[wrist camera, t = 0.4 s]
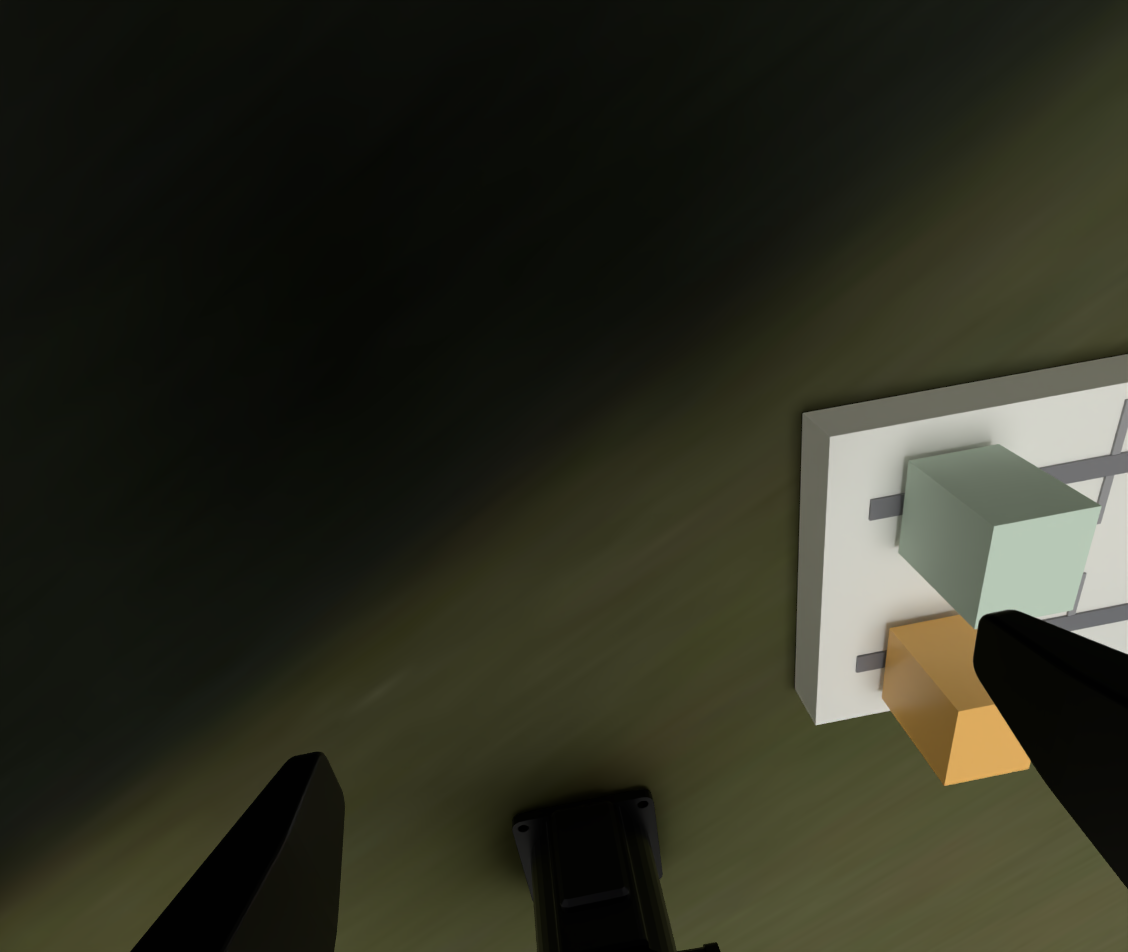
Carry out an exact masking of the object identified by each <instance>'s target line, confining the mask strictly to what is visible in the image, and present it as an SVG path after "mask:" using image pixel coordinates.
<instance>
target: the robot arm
mask: <svg viewBox="0 0 1128 952" xmlns="http://www.w3.org/2000/svg"><path fill="white" fill-rule="evenodd" d="M973 667H974V670H975V673H976V675H977V677H978V679H979V681H980V682H981V684H982V685H983V687H984V689H985V690H986V692H987V693H988V695H989V696H990V698H991V700H992V701H993V703H994V704H995V706H996V707H997V709H998V710H999V712H1000V714H1001V715H1002V717H1003V718H1004V720H1005V721H1006V723H1007V725H1008V726H1009V728H1010V729H1011V731H1012V732H1013V734H1014V736H1015V737H1016V739H1017V740H1018V742H1019V743H1020V745H1021V747H1022V748H1023V750H1024V751H1025V753H1026V754H1027V756H1028V757H1029V759H1030V761H1031V762H1032V764H1033V765H1034V767H1035V768H1036V770H1037V771H1038V773H1039V774H1040V775H1041V777H1042V778H1043V780H1044V781H1045V783H1046V784H1047V785H1048V787H1049V788H1050V789H1051V791H1052V792H1053V793H1054V795H1055V796H1056V797H1057V799H1058V800H1059V801H1060V803H1061V804H1062V805H1063V806H1064V808H1065V809H1066V810H1067V812H1068V813H1069V814H1070V815H1071V817H1072V818H1073V819H1074V820H1075V822H1076V823H1077V824H1078V826H1079V827H1080V828H1081V829H1082V831H1083V832H1084V833H1085V835H1086V836H1087V837H1088V838H1089V840H1090V841H1091V842H1092V844H1093V845H1094V846H1095V847H1096V849H1097V850H1098V851H1099V853H1100V854H1101V855H1102V856H1103V858H1104V859H1105V860H1106V862H1107V863H1108V864H1109V865H1110V867H1111V868H1112V869H1113V871H1114V872H1115V873H1116V874H1117V876H1118V877H1119V878H1120V880H1121V881H1122V882H1123V883H1124V885H1125V886H1126V887H1127V889H1128V654H1126V653H1123V652H1121V651H1118V650H1116V649H1113V648H1111V647H1108V646H1106V645H1103V644H1101V643H1098V642H1096V641H1093V640H1091V639H1088V638H1086V637H1083V636H1081V635H1078V634H1076V633H1073V632H1071V631H1068V630H1066V629H1063V628H1061V627H1058V626H1056V625H1053V624H1051V623H1048V622H1046V621H1043V620H1040V619H1038V618H1035V617H1033V616H1030V615H1028V614H1025V613H1023V612H1020V611H1017V610H1003V611H998V612H994V613H989V614H985V615H983V616H982V617H981V619H980V620H979V623H978V628H977V635H976V641H975V647H974V654H973ZM344 815H345V802H344V796H343V792H342V789H341V787H340V785H339V783H338V781H337V778H336V776H335V774H334V772H333V770H332V768H331V765H330V763H329V761H328V759H327V757H326V756H325V755H324V754H323V753H322V752H312V753H307V754H303V755H298V756H294V757H292V758H290V759H289V760H288V761H287V762H286V763H285V764H284V765H283V766H282V767H281V769H280V770H279V771H278V772H277V774H276V775H275V776H274V777H273V778H272V780H271V781H270V782H269V783H268V784H267V786H266V787H265V788H264V789H263V791H262V792H261V793H260V794H259V795H258V797H257V798H256V799H255V800H254V802H253V803H252V804H251V805H250V806H249V808H248V809H247V810H246V811H245V813H244V814H243V815H242V816H241V817H240V819H239V820H238V821H237V822H236V823H235V825H234V826H233V827H232V828H231V830H230V831H229V832H228V833H227V834H226V836H225V837H224V838H223V839H222V841H221V842H220V843H219V844H218V845H217V847H216V848H215V849H214V850H213V852H212V853H211V854H210V855H209V856H208V858H207V859H206V860H205V861H204V862H203V864H202V865H201V866H200V867H199V869H198V870H197V871H196V872H195V873H194V875H193V876H192V877H191V878H190V880H189V881H188V882H187V883H186V884H185V886H184V887H183V888H182V889H181V891H180V892H179V893H178V894H177V895H176V897H175V898H174V899H173V900H172V901H171V903H170V904H169V905H168V906H167V908H166V909H165V910H164V911H163V912H162V914H161V915H160V916H159V917H158V919H157V920H156V921H155V922H154V923H153V925H152V926H151V927H150V928H149V930H148V931H147V932H146V933H145V934H144V936H143V937H142V938H141V939H140V940H139V942H138V943H137V944H136V945H135V947H134V948H133V949H132V950H131V951H130V952H334V947H335V940H336V933H337V923H338V911H339V895H340V879H341V863H342V847H343V831H344ZM512 831H513V834H514V838H515V841H516V845H517V848H518V852H519V855H520V859H521V862H522V866H523V869H524V873H525V876H526V879H527V883H528V886H529V890H530V893H531V897H532V900H533V902H534V914H535V928H536V941H537V952H720V949H719V947H718V944H717V942H715V943H708V944H703V947H701V948H695V949H689V950H682V951H677V950H676V946H675V942H674V938H673V934H672V930H671V926H670V921H669V917H668V913H667V909H666V905H665V901H664V897H663V893H662V889H661V884H660V880H659V879H660V878H661V877H662V874H663V873H662V865H661V857H660V849H659V841H658V833H657V825H656V817H655V809H654V802H653V798H652V794H651V792H650V791H648V790H645V789H643V790H636V791H631V792H626V793H621V794H616V795H611V796H606V797H601V798H596V799H591V800H586V801H581V802H576V803H571V804H566V805H561V806H556V807H551V808H546V809H541V810H536V811H531V812H526V813H521V814H518V815H516V816H515V817H514V818H513V819H512Z"/></svg>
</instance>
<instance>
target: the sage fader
mask: <svg viewBox="0 0 1128 952" xmlns="http://www.w3.org/2000/svg"><path fill="white" fill-rule="evenodd" d="M1101 507H1102V506H1101V505H1099V504H1098V503H1096V502H1094V501H1093V500H1091V499H1090V498H1088V497H1086V496H1085V495H1083V494H1081V493H1080V492H1078V491H1076V490H1075V489H1073V488H1071V487H1070V486H1068V485H1066V484H1065V483H1063V482H1061V481H1060V480H1058V479H1056V478H1055V477H1053V476H1051V475H1050V474H1048V473H1046V472H1045V471H1043V470H1041V469H1040V468H1038V467H1036V466H1035V465H1033V464H1031V463H1030V462H1028V461H1026V460H1025V459H1023V458H1021V457H1020V456H1018V455H1016V454H1015V453H1013V452H1011V451H1010V450H1008V449H1006V448H1005V447H1003V446H1001V445H1000V444H996V445H990V446H985V447H980V448H974V449H969V450H963V451H958V452H953V453H947V454H942V455H936V456H931V457H926V458H920V459H915V460H909V462H908V470H907V479H906V488H905V497H904V506H903V514H902V523H901V532H900V541H899V549H898V553H899V554H900V555H901V556H902V557H903V558H904V559H905V560H906V561H907V562H908V563H909V564H910V565H911V566H912V567H913V568H914V569H915V570H916V571H917V572H918V573H919V574H920V575H921V576H922V577H923V578H924V579H925V580H926V581H927V582H928V583H929V584H930V585H931V586H932V587H933V588H934V589H935V590H936V591H937V592H938V593H939V594H940V595H941V596H942V597H943V598H944V599H945V600H946V601H947V602H948V603H949V604H950V605H951V606H952V607H953V608H954V609H955V610H956V611H957V612H958V613H959V614H960V615H961V616H962V617H963V618H964V619H965V620H966V621H967V622H968V623H969V624H970V625H971V626H972V627H973V629H977V628H978V623H979V620H980V619H981V617H982V616H983V615H985V614H989V613H994V612H998V611H1003V610H1017V611H1020V612H1023V613H1025V614H1028V615H1030V616H1033V617H1040V616H1046V615H1051V614H1056V613H1061V612H1066V611H1071V610H1073V608H1074V604H1075V600H1076V597H1077V593H1078V590H1079V586H1080V582H1081V579H1082V575H1083V572H1084V568H1085V564H1086V561H1087V557H1088V554H1089V550H1090V546H1091V543H1092V539H1093V536H1094V532H1095V529H1096V525H1097V521H1098V518H1099V514H1100V511H1101Z"/></svg>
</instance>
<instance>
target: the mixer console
mask: <svg viewBox="0 0 1128 952" xmlns="http://www.w3.org/2000/svg"><path fill="white" fill-rule="evenodd" d="M996 444H1000V445H1001V446H1003V447H1005V448H1006V449H1008V450H1010V451H1011V452H1013V453H1015V454H1016V455H1018V456H1020V457H1021V458H1023V459H1025V460H1026V461H1028V462H1030V463H1031V464H1033V465H1035V466H1036V467H1038V468H1040V469H1041V470H1043V471H1045V472H1046V473H1048V474H1050V475H1051V476H1053V477H1055V478H1056V479H1058V480H1060V481H1061V482H1063V483H1065V484H1066V485H1068V486H1070V487H1071V488H1073V489H1075V490H1076V491H1078V492H1080V493H1081V494H1083V495H1085V496H1086V497H1088V498H1090V499H1091V500H1093V501H1094V502H1096V503H1098V504H1099V505H1101V506H1102V507H1101V511H1100V514H1099V518H1098V521H1097V525H1096V529H1095V532H1094V536H1093V539H1092V543H1091V546H1090V550H1089V554H1088V557H1087V561H1086V564H1085V568H1084V572H1083V575H1082V579H1081V582H1080V586H1079V590H1078V593H1077V597H1076V600H1075V604H1074V608H1073V610H1071V611H1066V612H1061V613H1056V614H1051V615H1046V616H1040V617H1035V618H1038V619H1040V620H1043V621H1046V622H1048V623H1051V624H1053V625H1056V626H1058V627H1061V628H1063V629H1066V630H1068V631H1071V632H1073V633H1076V634H1078V635H1081V636H1083V637H1086V638H1088V639H1091V640H1093V641H1096V642H1098V643H1101V644H1103V645H1106V646H1108V647H1111V648H1113V649H1116V650H1118V651H1121V652H1123V653H1126V654H1128V354H1125V355H1120V356H1114V357H1109V358H1103V359H1098V360H1092V361H1087V362H1081V363H1076V364H1070V365H1065V366H1059V367H1054V368H1048V369H1043V370H1037V371H1032V372H1026V373H1021V374H1015V375H1010V376H1004V377H999V378H993V379H988V380H982V381H977V382H971V383H966V384H960V385H955V386H949V387H944V388H938V389H933V390H927V391H922V392H916V393H910V394H905V395H899V396H894V397H888V398H883V399H877V400H872V401H866V402H861V403H855V404H850V405H844V406H839V407H833V408H828V409H822V410H817V411H811V412H806V413H803V417H802V452H801V488H800V523H799V559H798V594H797V630H796V665H795V690H796V692H797V694H798V695H799V697H800V699H801V701H802V702H803V704H804V706H805V708H806V709H807V711H808V713H809V715H810V716H811V718H812V720H813V722H814V723H815V725H819V724H825V723H830V722H835V721H840V720H845V719H850V718H855V717H860V716H865V715H870V714H875V713H880V712H885V711H890V709H889V708H888V706H887V705H886V703H885V702H884V701H883V699H882V690H883V681H884V672H885V663H886V655H887V646H888V637H889V628H893V627H898V626H903V625H908V624H913V623H918V622H924V621H929V620H934V619H939V618H944V617H949V616H955V615H960V614H959V613H958V612H957V611H956V610H955V609H954V608H953V607H952V606H951V605H950V604H949V603H948V602H947V601H946V600H945V599H944V598H943V597H942V596H941V595H940V594H939V593H938V592H937V591H936V590H935V589H934V588H933V587H932V586H931V585H930V584H929V583H928V582H927V581H926V580H925V579H924V578H923V577H922V576H921V575H920V574H919V573H918V572H917V571H916V570H915V569H914V568H913V567H912V566H911V565H910V564H909V563H908V562H907V561H906V560H905V559H904V558H903V557H902V556H901V555H900V554H899V553H898V549H899V541H900V532H901V523H902V514H903V506H904V497H905V488H906V479H907V470H908V462H909V460H915V459H920V458H926V457H931V456H936V455H942V454H947V453H953V452H958V451H963V450H969V449H974V448H980V447H985V446H990V445H996Z"/></svg>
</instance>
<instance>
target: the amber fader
mask: <svg viewBox="0 0 1128 952" xmlns="http://www.w3.org/2000/svg"><path fill="white" fill-rule="evenodd" d="M976 635H977V629H973V627H972V626H971V625H970V624H969V623H968V622H967V621H966V620H965V619H964V618H963V617H962V616H961V615H955V616H949V617H944V618H939V619H934V620H929V621H924V622H918V623H913V624H908V625H903V626H898V627H893V628H889V637H888V646H887V655H886V663H885V672H884V681H883V690H882V699H883V701H884V702H885V703H886V705H887V706H888V708H889V709H890V710H891V712H892V713H893V715H894V716H895V717H896V719H897V720H898V722H899V723H900V724H901V726H902V727H903V729H904V730H905V732H906V733H907V734H908V736H909V737H910V739H911V740H912V741H913V743H914V744H915V746H916V747H917V748H918V750H919V751H920V753H921V754H922V755H923V757H924V758H925V760H926V761H927V762H928V764H929V765H930V767H931V768H932V769H933V771H934V772H935V774H936V775H937V776H938V778H939V779H940V781H941V782H942V783H943V785H944V786H946V785H951V784H956V783H961V782H966V781H971V780H976V779H981V778H986V777H991V776H996V775H1001V774H1005V773H1010V772H1015V771H1020V770H1025V769H1029V766H1030V762H1031V761H1030V759H1029V757H1028V756H1027V754H1026V753H1025V751H1024V750H1023V748H1022V747H1021V745H1020V743H1019V742H1018V740H1017V739H1016V737H1015V736H1014V734H1013V732H1012V731H1011V729H1010V728H1009V726H1008V725H1007V723H1006V721H1005V720H1004V718H1003V717H1002V715H1001V714H1000V712H999V710H998V709H997V707H996V706H995V704H994V703H993V701H992V700H991V698H990V696H989V695H988V693H987V692H986V690H985V689H984V687H983V685H982V684H981V682H980V681H979V679H978V677H977V675H976V673H975V670H974V667H973V654H974V647H975V641H976Z"/></svg>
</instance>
